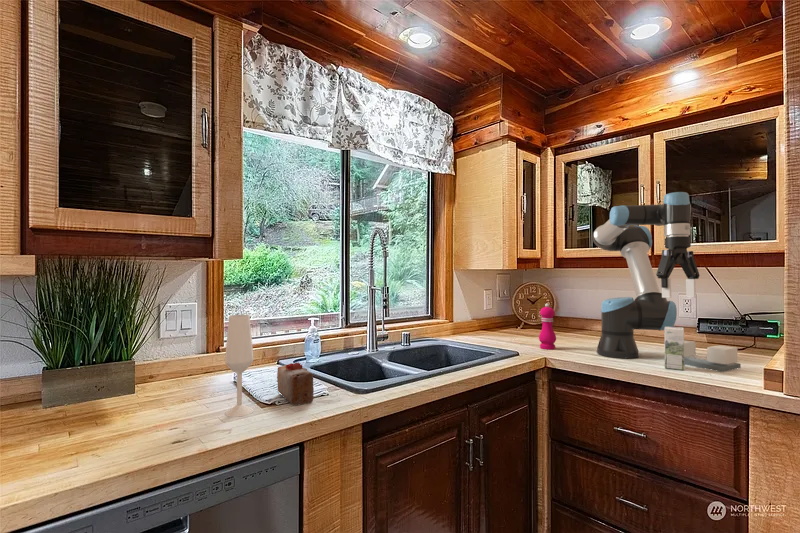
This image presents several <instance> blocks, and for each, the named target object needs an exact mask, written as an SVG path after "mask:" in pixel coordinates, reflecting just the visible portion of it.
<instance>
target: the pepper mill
mask: <svg viewBox="0 0 800 533" xmlns="http://www.w3.org/2000/svg"><path fill="white" fill-rule="evenodd" d="M539 313H540V316H541V317H540V319H541V320H540V321H541V324H542V326H541V330H540V333H539V335H538V340H539V342H540V344H539V348H540V349H541V350H549V351H551V350H552V351H553V350H556V345H555V342H556V341H557V336H556V333H555V331H554V327H553V322H554V318H553V317H554V316H555V310H554V309H553V308H552V307H550V303H548V302H547V303H545V305H544V307H542V308H540V312H539Z"/></svg>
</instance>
